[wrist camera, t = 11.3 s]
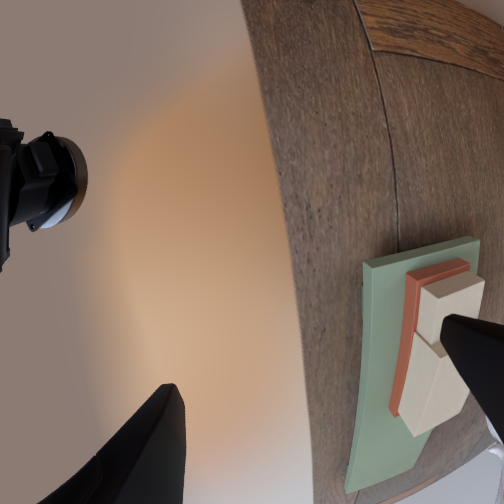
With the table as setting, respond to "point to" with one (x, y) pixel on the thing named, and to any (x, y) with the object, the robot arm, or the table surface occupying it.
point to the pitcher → (500, 450)
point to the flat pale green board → (389, 362)
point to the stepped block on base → (432, 344)
